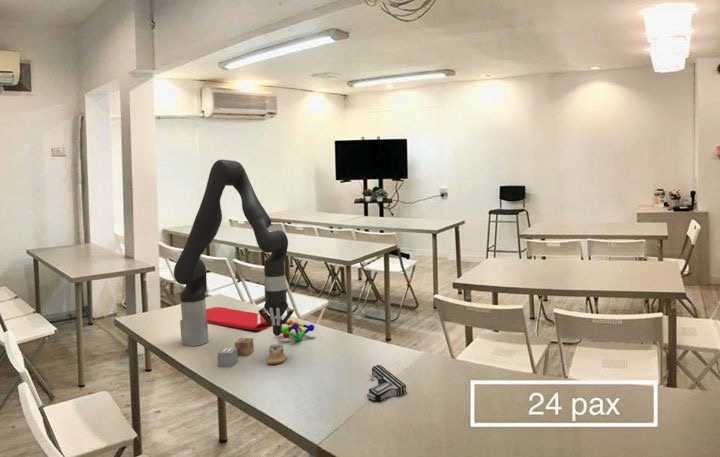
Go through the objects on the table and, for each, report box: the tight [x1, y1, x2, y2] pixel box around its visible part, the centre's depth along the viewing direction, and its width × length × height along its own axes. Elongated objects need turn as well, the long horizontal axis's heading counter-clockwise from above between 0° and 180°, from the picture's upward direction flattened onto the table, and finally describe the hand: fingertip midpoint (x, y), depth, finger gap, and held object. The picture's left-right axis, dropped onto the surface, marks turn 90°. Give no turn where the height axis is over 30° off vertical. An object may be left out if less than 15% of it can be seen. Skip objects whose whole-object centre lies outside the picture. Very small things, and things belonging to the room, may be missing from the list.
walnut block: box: [234, 337, 255, 357], centre depth 188 cm, size 5×5×5 cm
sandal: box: [266, 343, 286, 365], centre depth 184 cm, size 7×16×5 cm, turn 13°
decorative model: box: [280, 319, 315, 342], centre depth 202 cm, size 13×9×15 cm
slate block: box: [217, 347, 239, 368], centre depth 179 cm, size 5×5×5 cm
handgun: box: [366, 364, 407, 403], centre depth 157 cm, size 3×19×12 cm
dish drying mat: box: [206, 306, 273, 331], centre depth 228 cm, size 16×41×4 cm, turn 57°
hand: (277, 335), depth 183 cm, fingers closed
